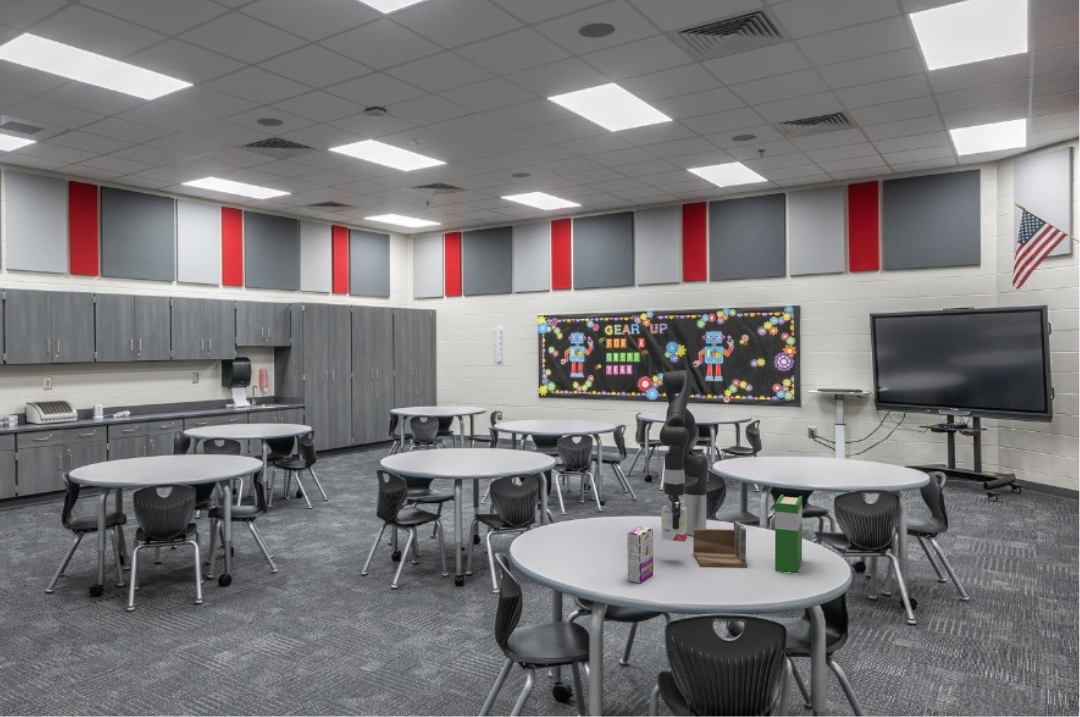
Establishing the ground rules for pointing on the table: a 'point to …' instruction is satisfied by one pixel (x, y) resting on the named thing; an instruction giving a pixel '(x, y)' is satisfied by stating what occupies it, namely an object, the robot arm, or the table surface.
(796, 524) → the hardback book
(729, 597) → the table surface
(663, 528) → the ink box
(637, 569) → the candy bar box
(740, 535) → the wooden book holder
